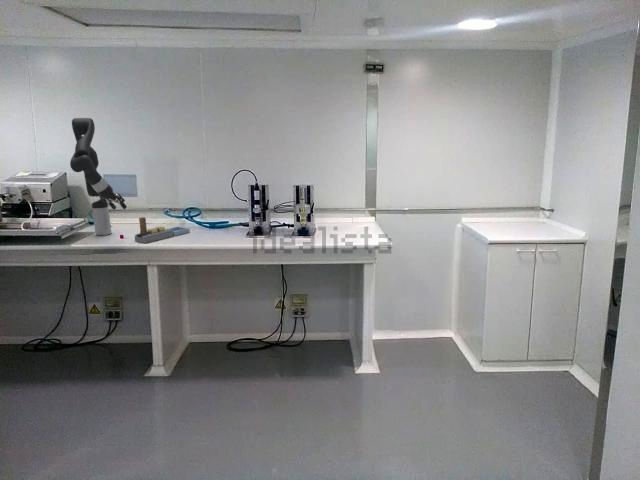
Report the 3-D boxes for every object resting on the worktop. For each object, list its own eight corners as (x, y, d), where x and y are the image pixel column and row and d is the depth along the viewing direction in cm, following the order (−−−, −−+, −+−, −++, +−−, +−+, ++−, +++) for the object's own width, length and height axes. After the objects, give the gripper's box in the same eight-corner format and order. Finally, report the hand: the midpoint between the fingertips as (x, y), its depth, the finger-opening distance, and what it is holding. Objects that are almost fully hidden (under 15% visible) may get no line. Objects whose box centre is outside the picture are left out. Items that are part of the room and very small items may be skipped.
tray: (174, 236, 300) (174, 232, 300) (162, 234, 306) (162, 230, 306) (189, 232, 310) (189, 228, 309) (178, 230, 316) (177, 226, 315)
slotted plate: (145, 243, 284) (145, 236, 283) (135, 241, 290) (134, 234, 289) (173, 236, 300) (172, 229, 299) (162, 234, 306) (162, 227, 305)
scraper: (144, 237, 287) (142, 218, 284) (140, 236, 289) (138, 217, 286) (148, 236, 289) (146, 217, 286) (143, 235, 291) (141, 217, 288)
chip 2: (159, 233, 295) (159, 228, 295) (155, 232, 297) (154, 227, 297) (165, 231, 298) (164, 227, 298) (160, 231, 301) (160, 226, 300)
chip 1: (152, 235, 291) (151, 230, 290) (147, 234, 293) (147, 229, 292) (157, 233, 294) (157, 228, 293) (153, 233, 296) (152, 228, 296)
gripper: (114, 181, 265) (132, 203, 276) (97, 183, 272) (115, 204, 283) (106, 191, 261) (125, 212, 272) (88, 192, 268) (107, 213, 278)
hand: (120, 208), depth 277 cm, fingers open, 8 cm apart
